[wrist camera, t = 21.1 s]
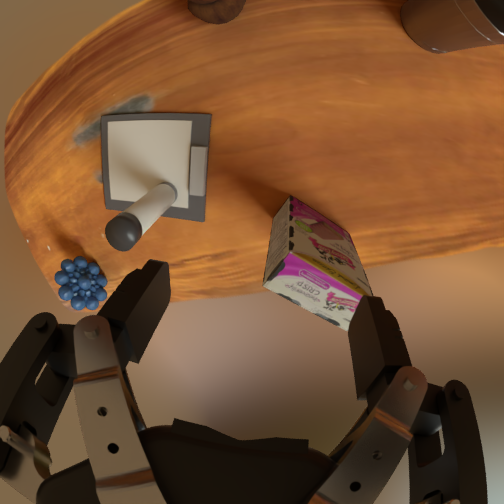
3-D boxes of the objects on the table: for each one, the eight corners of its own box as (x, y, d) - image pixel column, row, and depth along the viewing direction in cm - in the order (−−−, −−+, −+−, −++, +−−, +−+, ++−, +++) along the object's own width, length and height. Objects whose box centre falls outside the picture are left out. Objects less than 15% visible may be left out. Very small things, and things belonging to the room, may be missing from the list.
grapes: (72, 250, 48) (38, 283, 38) (88, 238, 46) (50, 273, 36) (102, 292, 53) (75, 329, 43) (120, 284, 51) (91, 324, 40)
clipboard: (103, 115, 34) (97, 116, 32) (211, 114, 33) (208, 114, 31) (107, 207, 42) (102, 211, 40) (204, 220, 41) (201, 224, 40)
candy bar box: (351, 232, 39) (379, 305, 25) (331, 255, 41) (347, 334, 27) (289, 191, 37) (289, 251, 23) (271, 218, 40) (259, 289, 26)
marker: (154, 180, 38) (102, 218, 25) (178, 182, 37) (132, 221, 25) (155, 204, 39) (108, 249, 27) (178, 206, 39) (136, 253, 27)
